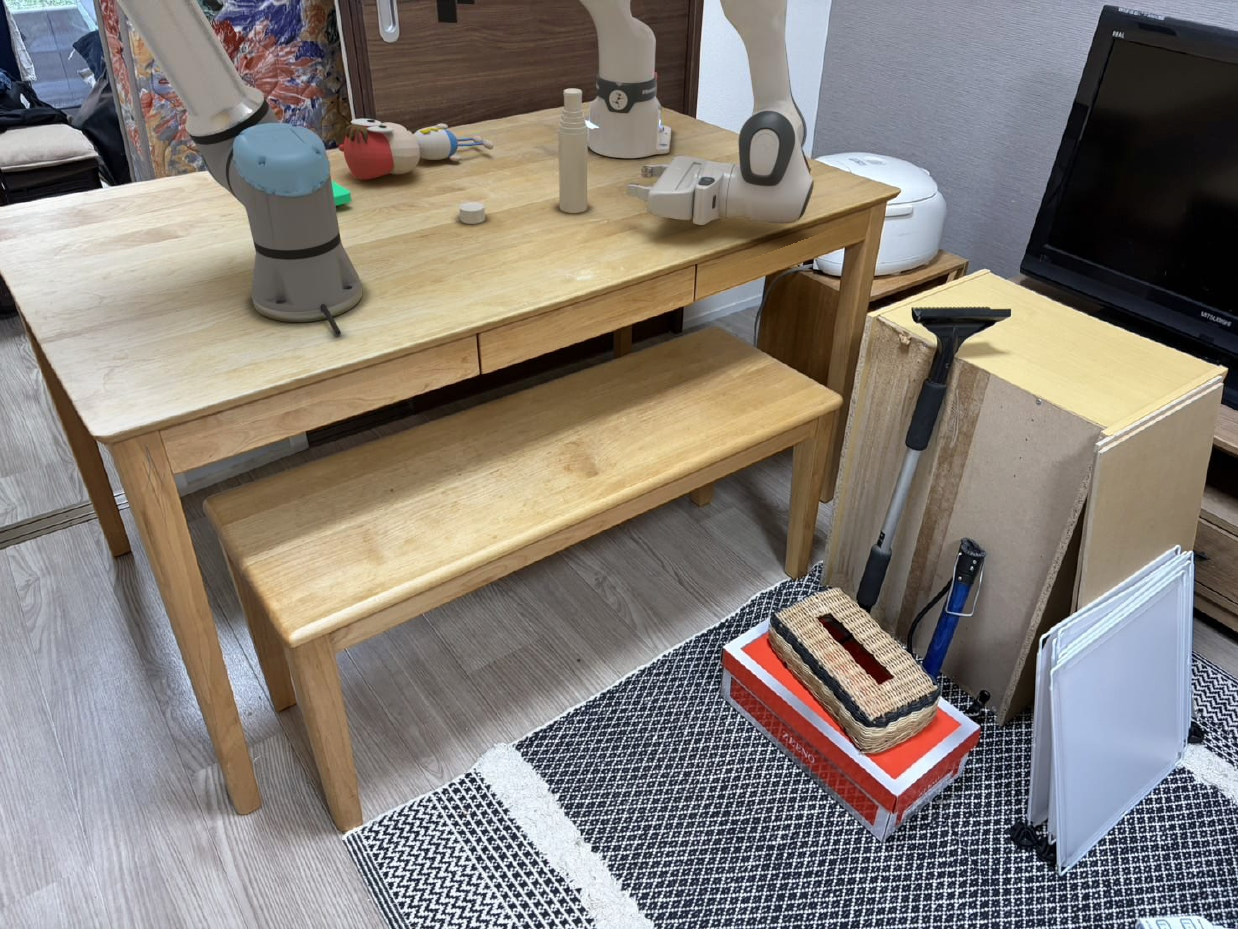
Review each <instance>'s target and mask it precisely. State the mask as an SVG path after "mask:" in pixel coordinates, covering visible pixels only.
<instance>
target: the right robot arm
mask: <svg viewBox="0 0 1238 929" xmlns="http://www.w3.org/2000/svg"><path fill="white" fill-rule="evenodd" d="M578 2H580V3H581V4H582V5H583V6H584V8H585V9H586V10H587V12H588V13H589V15H590V18H591V19H592V21H593V24H594V26H595V30H596V35H597V46H598V73H597V75H596V81H595V87H596V90H595V92H596V95H597V96H596V97H595V99H593V100H592V101H591V102H590V103H589V109H588V120H586V124H587V130H588V148H589V149H591V150H592V151H593V152H594V153H595V154H599V155H602V156H605V157H610V158H617V159H619V158H620V159H638V158H645V157H650V156H653V155H665V154H669V153H670V147H671V138H672V128H671V127H670V126H667V125H664V124H662V120H663V105H661V103H660V101H659V99H658V97H657V93H658V91H657V89H658V83H657V80H658V73H657V71H655V68H656V48H657V47H656V46H657V40H656V36H655V33H654V32H653V30H652V29H651V28H650V27H649V26H648V24H646V23H644V22H642V21H641V20H640V19H638V18H636V17H633V15H632V11H631V0H578ZM719 2H720V6H721V9H722V12H723V15H724V18H726V20H727V21H728V22H729V24H730V25H731V26H732V27H733V28H734V29H735V30H736V32H737V33H738V35H739V37H740V38H741V41H742V42H743V44H744V48H745V51H746V55H747V59H748V66H749V75H750V83H751V88H752V98H753V109H752V112H751V115H750V117H749V118H748V119H746V121H745V122H744V123H743V124H742V126H741V128H740V130H739V135H738V138H737V141H738V142H737V144H738V155H739V157H738V159H739V163H729V162H720V161H713V160H708V159H703V158H697V157H694V156H686V155H677V156H674V157H673V158H672V160H671V161H670V162H669V164H667V163H661V164H653V165H651V164H644V165H643V166H642V167H641V169H640V170H641V171H640V176H641V177H642V178H646V179H652V178H658V179H657V181H655V183H654V184H653V185H652V186H650V185H648V186H643V185H640V183H639V182H630V183H628V185H627V186H626V195H627V196H628V197H633V198H634V197H635V198H638V199H640V200H642V201H644V202H647V211H648V212H649V213H650V214H652V215H654V216H657V217H662V218H668V219H672V220H673V219H674V220H681V221H690V220H692V224H694V225H700V226H705V225H706V224H708V223H709V222H711V221H713V220H717V219H720V218H723V219H736V218H743V219H745V220H748V221H751V222H754V223H764V224H775V225H776V224H777V225H788V224H793V223H796V222H798V221H799V220H800V219H801V218H802V217H803V216H804V214H805V213H806V210H807V208H808V205H809V203H810V199H811V197H812V194H813V190H814V186H815V180H814V178H813V177H812V175H811V174H810V173H811V172H810V173H809V171H808V169H807V166H806V163H805V160H804V157H803V153H802V149H803V148H804V146H805V144H806V140H807V136H808V129H807V128H808V127H807V123H806V119H805V117H804V115H803V113H802V111H801V110H800V108H799V106H798V105H797V103H796V101H795V99H794V97H793V93H792V87H791V78H790V69H789V62H788V61H789V60H788V53H787V52H788V51H787V43H786V23H787V10H788V0H719Z"/></svg>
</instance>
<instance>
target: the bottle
mask: <svg viewBox="0 0 1238 929" xmlns="http://www.w3.org/2000/svg"><path fill="white" fill-rule="evenodd" d="M586 121H587V120H586V118H585V113H584V108H583V91H582V89H579V88H573V87H572V88H571V87H570V88H566V89H564V90H563V108H562V113H561V114H560V119H559V123H558V130H557V132H558V133H557V134H558V135H557V136H558V142H557V143H558V202H559V203H558V204H559V210H560V211H562V212H563V213H569V214H578V213H583V212H586V211H587V210H588V165H589V164H588V162H589V161H588V158H589V157H588V152H589V151H588V148H589V147H588V127H587V124H586Z"/></svg>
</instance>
